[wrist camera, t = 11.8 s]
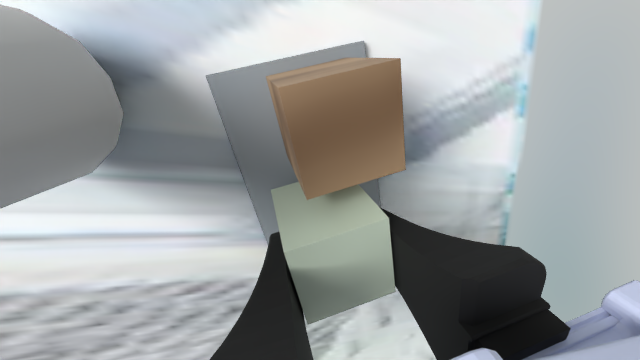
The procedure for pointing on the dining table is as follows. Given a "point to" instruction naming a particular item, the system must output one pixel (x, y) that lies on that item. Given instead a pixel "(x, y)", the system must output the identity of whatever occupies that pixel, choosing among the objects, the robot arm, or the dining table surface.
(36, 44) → the salt shaker
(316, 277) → the sage block
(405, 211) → the dining table surface
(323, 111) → the walnut block
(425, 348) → the dining table surface
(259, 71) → the slate mat
